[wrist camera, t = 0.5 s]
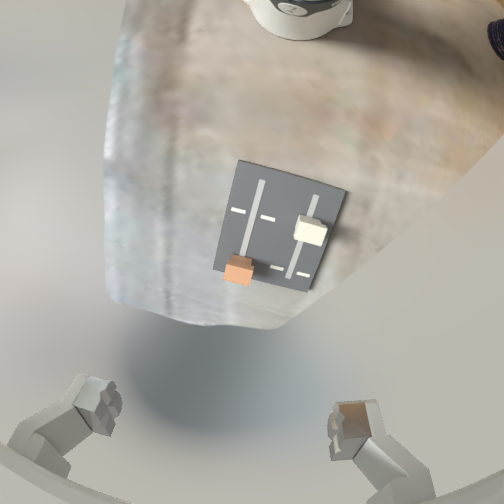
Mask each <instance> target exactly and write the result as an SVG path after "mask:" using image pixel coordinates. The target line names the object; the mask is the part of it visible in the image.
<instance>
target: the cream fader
mask: <svg viewBox="0 0 504 504" xmlns="http://www.w3.org/2000/svg"><path fill="white" fill-rule="evenodd" d="M326 232H327V227H326V225H323V224H321V221H320V220H318V219H315V218H311V217H308V216H304V215H301V214H299V216H298V220H297V223H296V226H295V232H294V235H293V236H294V239H295V240H299V241H303V242H307V243H310V244H314V245H318V246H321V245H322V243H323V240H324V237H325V235H326Z"/></svg>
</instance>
